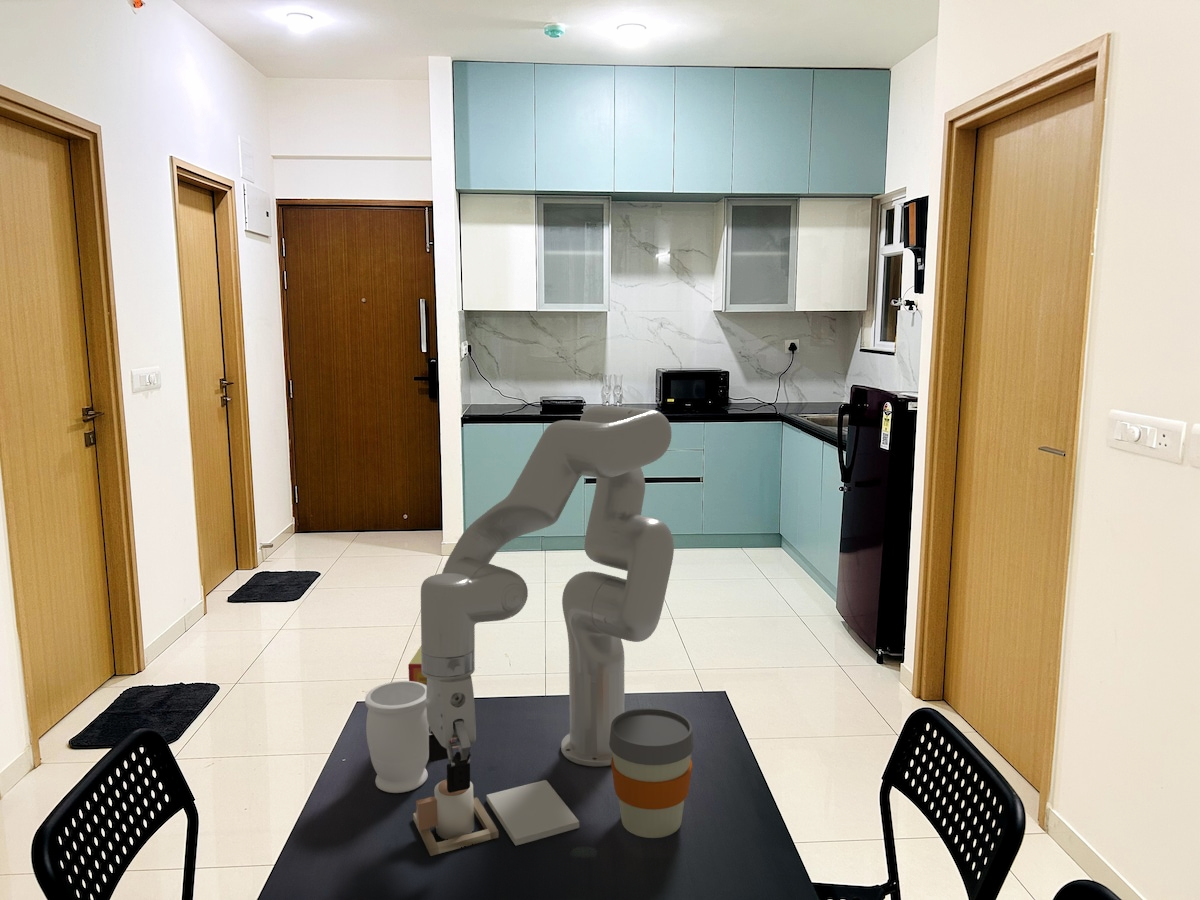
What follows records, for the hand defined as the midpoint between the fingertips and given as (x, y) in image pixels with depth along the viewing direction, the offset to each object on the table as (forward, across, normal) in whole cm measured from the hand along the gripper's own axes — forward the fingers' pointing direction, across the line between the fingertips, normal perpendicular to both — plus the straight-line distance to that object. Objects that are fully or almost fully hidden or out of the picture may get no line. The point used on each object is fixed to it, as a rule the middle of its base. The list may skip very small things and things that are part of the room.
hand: (448, 774), depth 126 cm
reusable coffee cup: (+8, -11, -28) cm, 31 cm away
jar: (+9, +17, +3) cm, 20 cm away
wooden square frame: (+9, 0, -1) cm, 9 cm away
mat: (+9, -1, -12) cm, 15 cm away
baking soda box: (+9, +29, -6) cm, 31 cm away
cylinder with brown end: (+9, 0, 0) cm, 9 cm away
